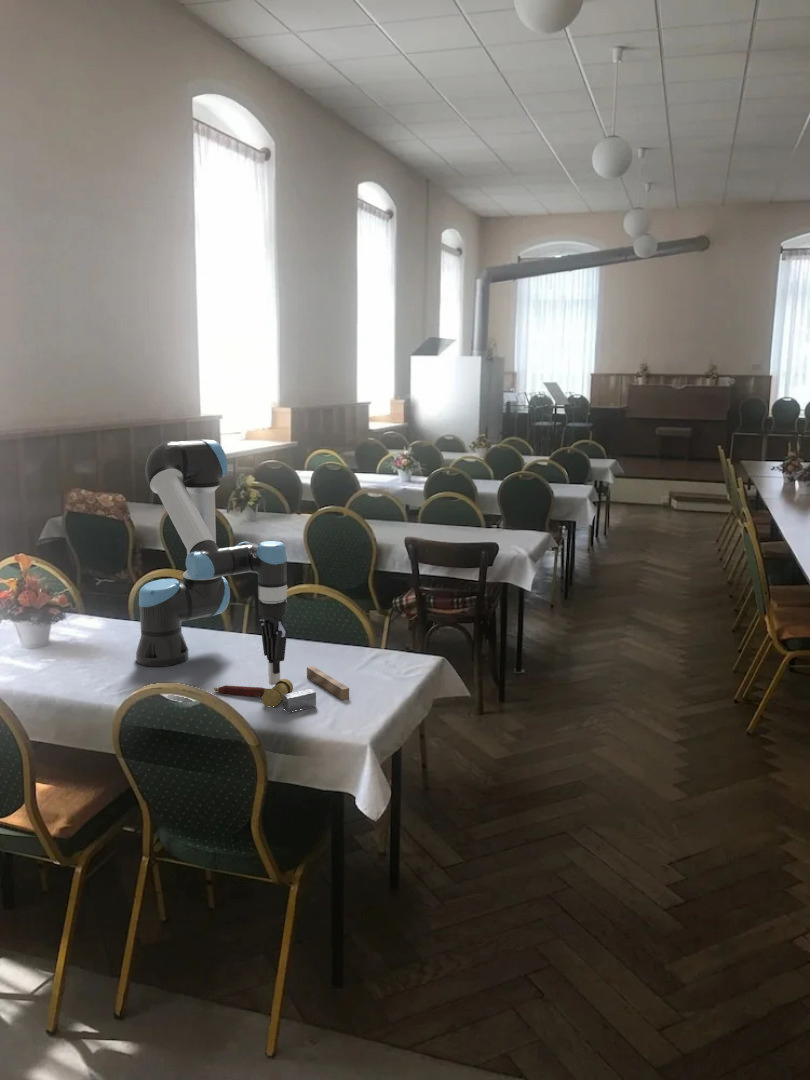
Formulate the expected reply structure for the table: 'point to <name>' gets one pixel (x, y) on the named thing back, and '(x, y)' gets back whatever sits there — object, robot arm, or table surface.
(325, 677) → the walnut fence
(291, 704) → the block
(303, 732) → the table surface
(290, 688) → the gavel
